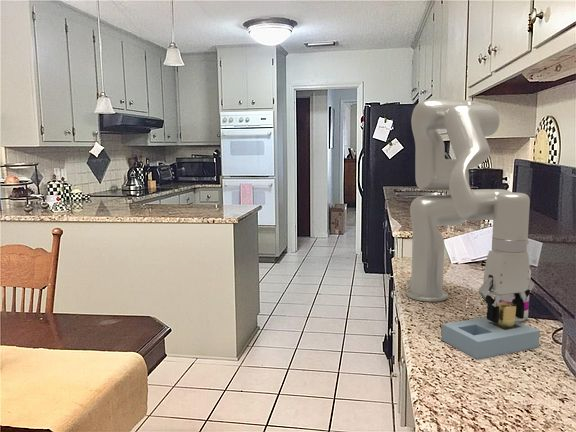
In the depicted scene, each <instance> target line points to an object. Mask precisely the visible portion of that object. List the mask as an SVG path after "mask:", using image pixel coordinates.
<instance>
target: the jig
mask: <svg viewBox="0 0 576 432" xmlns="http://www.w3.org/2000/svg"><path fill="white" fill-rule="evenodd" d="M540 332H541V330H539V329H538V328H534V327H532V326H530V325H528V324H525V323H522V322H517V321H515V326H514V329H508V330H504V329H501V328H499V327H497V326H496V323H494V322H492V321H490V320H488V319H487V316H483V317H478V318H471V319H465V320H459V321H458V320H457V321H454V322H451V321H450V322H445V323H441V341H443V342H444V343H446V344H448V345H449V346H452V347H453V348H456V349H458V350H459V351H461V352H463V353H464V354H467V355H468V356H470V357H472V358H474V359H476V360H481V359H486V358H492V357H497V356H502V355H506V354H511V353H518V352H522V351H527V350H531V349H536V348H540V336H541V335H540V334H541V333H540Z"/></svg>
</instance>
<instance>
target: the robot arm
mask: <svg viewBox="0 0 576 432" xmlns="http://www.w3.org/2000/svg"><path fill="white" fill-rule="evenodd" d="M499 127H500V115H499V114H498V110H496V108H495V107H494V106H493V105H491V104H486V103H481V102H478V101H475V100H468V99H447V98H446V99H445V98H443V99H442V98H432V99H430V98H429V99H425V100H422V101H420V102H418V103H417V104H416V105H415V106H414V108H413V110H412V113H411V131H412V135H413V138H414V145H415V152H414V153H415V156H414V157H415V163H414V165H415V167H414V168H415V170H414V171H415V172H414V173H415V183H416V184H415V185H416V186H417V187H418V189H420V190H422V191H431V192H432V191H446V193H447V194H427V195H420V196H418V197H416V198H414V199H412V202H411V203H410V207H409V213H410V215H409V216H410V220H411V228H412V230H411V231H412V232H411V233H412V234H411V235H412V242H411V243H412V244H411V245H412V246H411V247H412V248H411V274H410V275H411V277H410V278H408V279H407V280H406V284H409V288H408V289H406V291H405V295H406V297H408V298H409V299H412V300H416V301H420V302H430V303H431V302H432V303H434V302H442V301H446V300H447V299H448V298H449V295H448V292H447V291H445V290H443V289H444V267H445V265H444V264H445V262H444V261H445V239H444V236H443V235H442V233H441V231H440V230H439V228H438V227H446V226H450V227H451V226H459V225H462V224H464V223H465V222H466V221H492V237H491V238H492V239H491V250H489V251H488V253H487V255H486V256H487V257H486V261H485V265H484V273H483V274H484V275H483V284H481V286H480V287H479V288H478V290H477V291H478V293H479V295H480V296H481V298H482V299H483V300H484V303H485V304H486V317H487V319H488V320H490V321H492V322H494V323H498V322H499V306H497V305H498V303H499V300H500V298H501V296H502V295H508V294H513V295H514V298H515V299H512V303H514V304H515V305H516V316H515V317H518V318H520V319H523V318H524V305H525V303H524V302H526V301H527V297H528V295H529V296H530V294H531V291H532V290H533V288H534V287H535V283H534V282H533V281H532V280H531V278H530V279H529V268H530V258H529V257H530V256H529V252H528V244H529V240H528V239H529V238H528V237H529V221H530V205H531V204H530V203H531V200H530V197H529V195H528V194H526V193H524V192H512V191H510V190H508V189H503V188H502V189H500V188H494V189H489V188H487V189H485V188H484V189H480V188H479V189H471V186H470V173H469V170H470V169H473V168H475V167H477V166H480V165H481V164H482V163H484V162H485V161H486V160H487V159H488V158H489V157H490V155H491V147H490V145H489V142H488V139H487V138H486V137H488V136H489V137H490V136H492V135H494V134H495V133H496V132H497V131H498V129H499ZM437 130H446V134H447V135H448V139H449V142H450V144H451V148H452V151H453V154H454V157H455V158H450V159H449V158H446V157H445V156H446V155H445V151H446V150H445V149H446V148H445V142H444V140H443V138H442V136H441V134H440V133H439V132H438V131H437ZM493 297H494V298H493Z"/></svg>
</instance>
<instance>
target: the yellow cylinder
mask: <svg viewBox="0 0 576 432" xmlns="http://www.w3.org/2000/svg"><path fill="white" fill-rule="evenodd" d="M498 306H499V322H498V323H496V326H497V327H499V328H501V329H504V330H508V329H514V326H515V316H516V305H515V304H514V303H511V302H499V303H498Z"/></svg>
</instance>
